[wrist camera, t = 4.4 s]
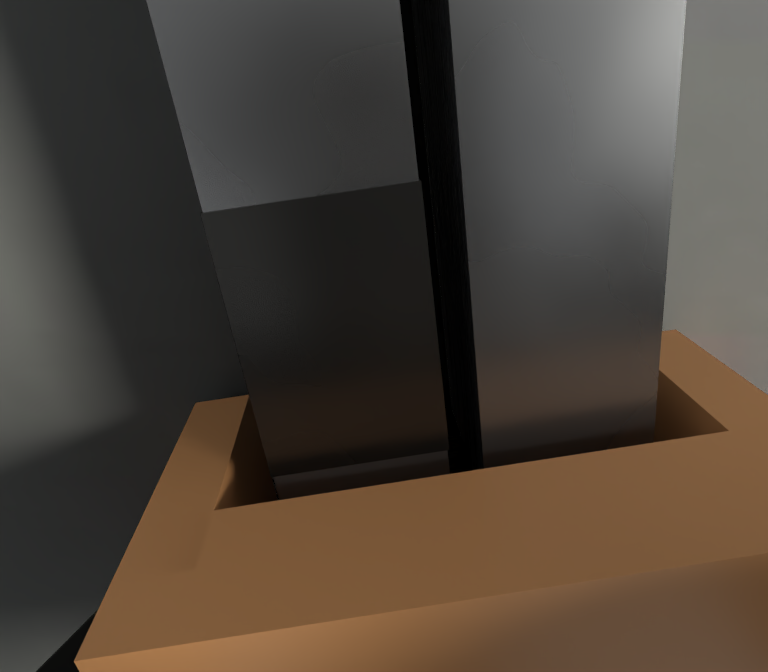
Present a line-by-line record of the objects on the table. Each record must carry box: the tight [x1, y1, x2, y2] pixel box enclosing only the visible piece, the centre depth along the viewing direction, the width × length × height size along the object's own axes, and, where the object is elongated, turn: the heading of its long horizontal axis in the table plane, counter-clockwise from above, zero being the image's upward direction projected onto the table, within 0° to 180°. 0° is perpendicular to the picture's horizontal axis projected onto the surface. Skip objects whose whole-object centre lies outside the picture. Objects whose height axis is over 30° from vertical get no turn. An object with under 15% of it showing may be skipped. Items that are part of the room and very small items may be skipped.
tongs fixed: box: [411, 0, 686, 474], centre depth 7 cm, size 13×4×2 cm, turn 8°
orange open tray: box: [74, 330, 768, 672], centre depth 7 cm, size 4×7×4 cm, turn 98°
